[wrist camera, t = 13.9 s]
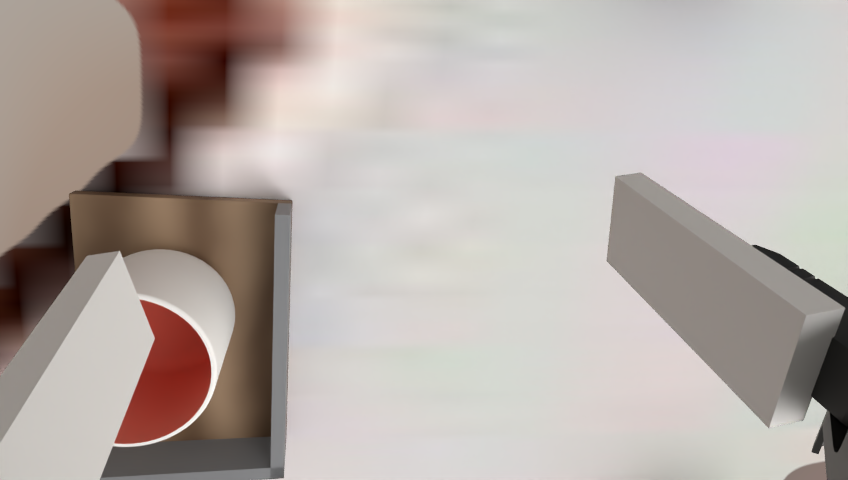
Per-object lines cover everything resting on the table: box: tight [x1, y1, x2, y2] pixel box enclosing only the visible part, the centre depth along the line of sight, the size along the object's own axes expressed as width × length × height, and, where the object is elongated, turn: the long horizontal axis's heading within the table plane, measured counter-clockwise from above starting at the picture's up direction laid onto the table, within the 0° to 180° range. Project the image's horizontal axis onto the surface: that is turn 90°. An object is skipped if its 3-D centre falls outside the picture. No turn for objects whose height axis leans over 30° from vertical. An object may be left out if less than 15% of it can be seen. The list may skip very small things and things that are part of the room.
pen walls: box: [100, 203, 292, 480], centre depth 40 cm, size 15×21×4 cm
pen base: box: [69, 191, 292, 442], centre depth 42 cm, size 15×21×1 cm
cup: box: [113, 249, 235, 447], centre depth 36 cm, size 10×10×10 cm
